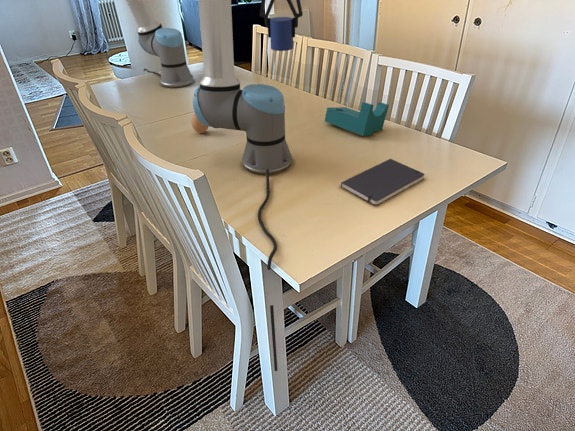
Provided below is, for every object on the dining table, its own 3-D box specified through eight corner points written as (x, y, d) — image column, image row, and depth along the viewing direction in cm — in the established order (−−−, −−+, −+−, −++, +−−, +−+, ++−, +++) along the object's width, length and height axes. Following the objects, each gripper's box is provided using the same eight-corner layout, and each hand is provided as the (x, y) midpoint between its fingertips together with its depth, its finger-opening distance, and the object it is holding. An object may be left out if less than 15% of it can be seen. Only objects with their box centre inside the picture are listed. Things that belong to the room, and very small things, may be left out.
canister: (281, 44, 164) (281, 16, 158) (297, 47, 159) (297, 18, 153) (266, 48, 159) (264, 19, 153) (282, 52, 154) (281, 21, 148)
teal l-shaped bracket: (380, 134, 144) (388, 104, 140) (363, 135, 137) (370, 104, 132) (342, 120, 155) (349, 92, 151) (324, 121, 148) (330, 92, 143)
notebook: (389, 163, 124) (340, 187, 113) (390, 158, 123) (341, 182, 112) (424, 178, 116) (375, 206, 105) (425, 174, 115) (376, 201, 104)
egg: (195, 137, 143) (191, 115, 138) (191, 131, 147) (187, 110, 142) (211, 134, 144) (208, 112, 140) (207, 127, 149) (204, 107, 144)
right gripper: (310, -33, 146) (309, 34, 159) (251, -32, 147) (255, 34, 160) (309, -31, 140) (309, 38, 153) (248, -30, 141) (252, 38, 154)
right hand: (281, 36), depth 156 cm, fingers closed on canister, 9 cm apart
